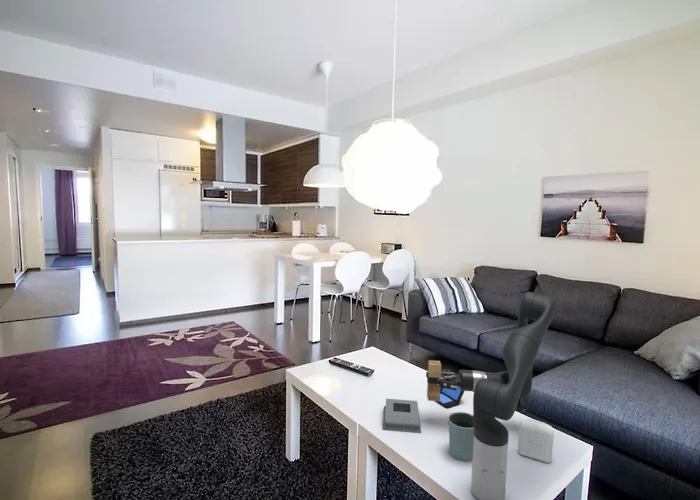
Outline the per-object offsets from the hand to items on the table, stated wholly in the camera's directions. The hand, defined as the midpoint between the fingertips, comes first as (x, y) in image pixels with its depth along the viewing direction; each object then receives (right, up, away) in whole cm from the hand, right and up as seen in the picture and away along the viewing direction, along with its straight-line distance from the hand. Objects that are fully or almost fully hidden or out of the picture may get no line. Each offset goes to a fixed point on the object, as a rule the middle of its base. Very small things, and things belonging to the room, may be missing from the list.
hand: (427, 377), depth 144 cm
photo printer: (+32, -20, -18) cm, 42 cm away
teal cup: (+8, -20, -17) cm, 28 cm away
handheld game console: (+12, -17, +20) cm, 29 cm away
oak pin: (+2, -8, 0) cm, 8 cm away
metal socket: (-9, -17, +3) cm, 20 cm away
